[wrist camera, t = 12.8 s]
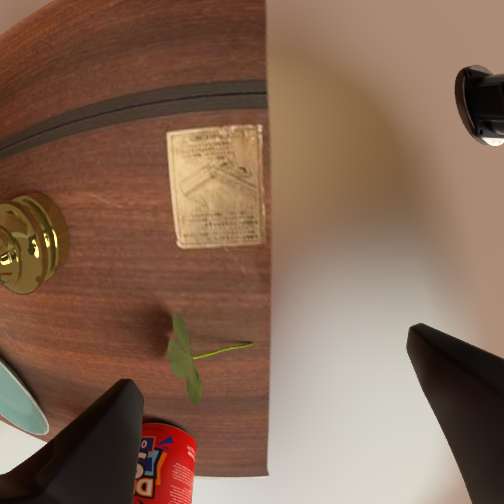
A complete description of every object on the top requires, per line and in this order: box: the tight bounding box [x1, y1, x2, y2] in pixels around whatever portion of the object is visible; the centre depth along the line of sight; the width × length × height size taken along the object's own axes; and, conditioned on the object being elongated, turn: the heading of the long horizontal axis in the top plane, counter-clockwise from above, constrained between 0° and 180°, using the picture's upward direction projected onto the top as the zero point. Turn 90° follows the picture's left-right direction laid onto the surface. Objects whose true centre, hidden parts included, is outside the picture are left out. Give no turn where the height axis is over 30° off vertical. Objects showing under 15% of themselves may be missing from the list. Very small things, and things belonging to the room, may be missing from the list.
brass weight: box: [0, 193, 69, 295], centre depth 14 cm, size 7×7×10 cm
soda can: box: [133, 423, 197, 504], centre depth 21 cm, size 8×8×15 cm
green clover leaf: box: [168, 314, 253, 405], centre depth 21 cm, size 7×8×6 cm
